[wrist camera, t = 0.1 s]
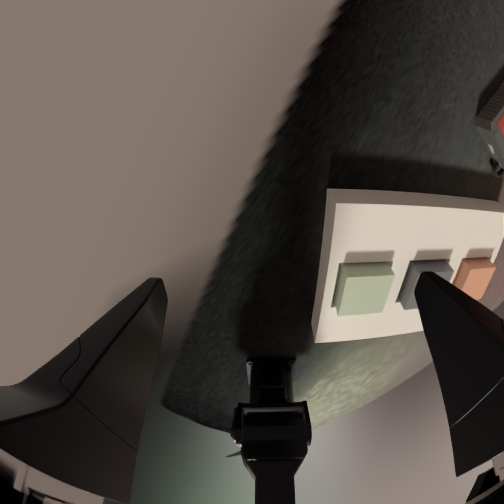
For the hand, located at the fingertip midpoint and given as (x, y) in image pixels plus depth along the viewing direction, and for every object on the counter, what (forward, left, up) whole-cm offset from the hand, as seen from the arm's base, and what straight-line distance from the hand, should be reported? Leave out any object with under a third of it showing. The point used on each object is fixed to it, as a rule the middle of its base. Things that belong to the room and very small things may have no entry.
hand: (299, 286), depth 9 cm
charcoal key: (-10, -15, -15) cm, 23 cm away
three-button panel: (-10, -15, -15) cm, 23 cm away
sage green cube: (-10, -8, -15) cm, 19 cm away
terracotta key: (-10, -22, -15) cm, 28 cm away
